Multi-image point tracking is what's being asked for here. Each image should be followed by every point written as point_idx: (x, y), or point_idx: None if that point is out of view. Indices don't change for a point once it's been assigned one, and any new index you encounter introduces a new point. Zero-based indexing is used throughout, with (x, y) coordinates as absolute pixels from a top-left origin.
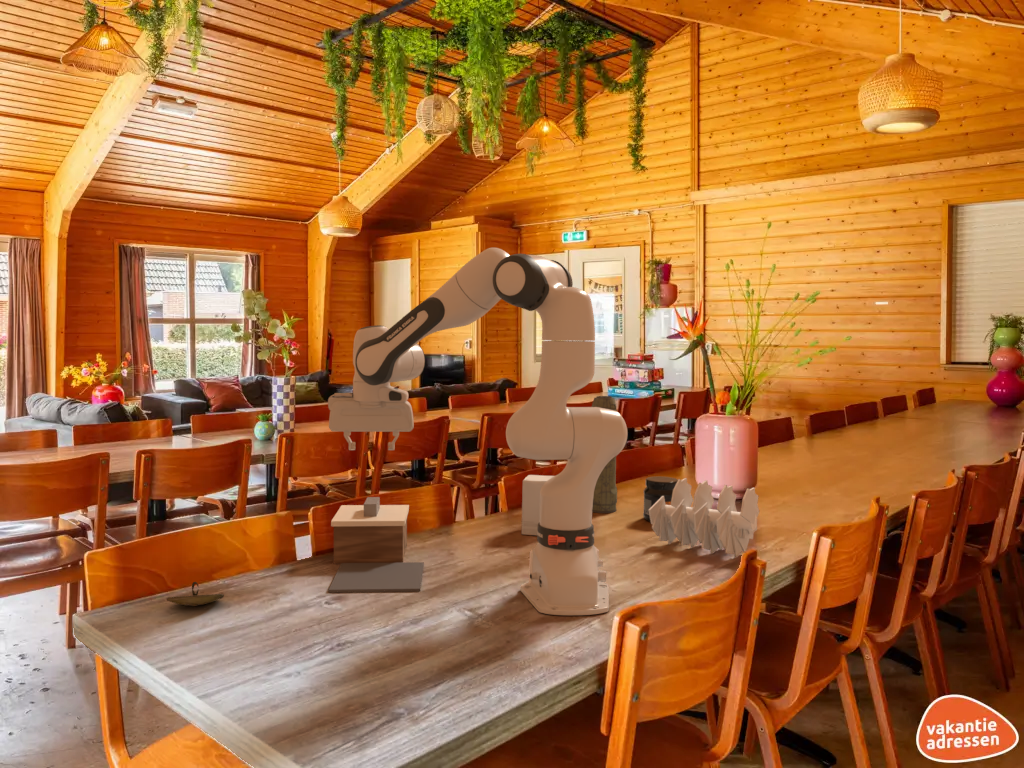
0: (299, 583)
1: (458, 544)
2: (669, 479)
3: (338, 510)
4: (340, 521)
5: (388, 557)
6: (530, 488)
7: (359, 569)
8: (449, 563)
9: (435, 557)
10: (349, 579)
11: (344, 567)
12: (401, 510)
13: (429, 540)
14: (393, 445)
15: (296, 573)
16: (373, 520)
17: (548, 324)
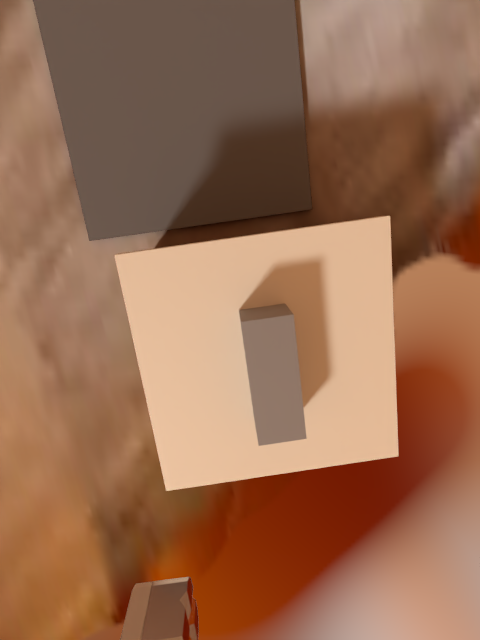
0: (386, 30)
1: (51, 434)
2: None
3: (394, 382)
4: (355, 220)
5: None
6: None
7: (249, 151)
8: (25, 261)
9: (79, 312)
10: (253, 49)
11: (294, 167)
12: (171, 410)
13: (136, 459)
14: (130, 618)
15: (414, 125)
16: (234, 247)
17: None
